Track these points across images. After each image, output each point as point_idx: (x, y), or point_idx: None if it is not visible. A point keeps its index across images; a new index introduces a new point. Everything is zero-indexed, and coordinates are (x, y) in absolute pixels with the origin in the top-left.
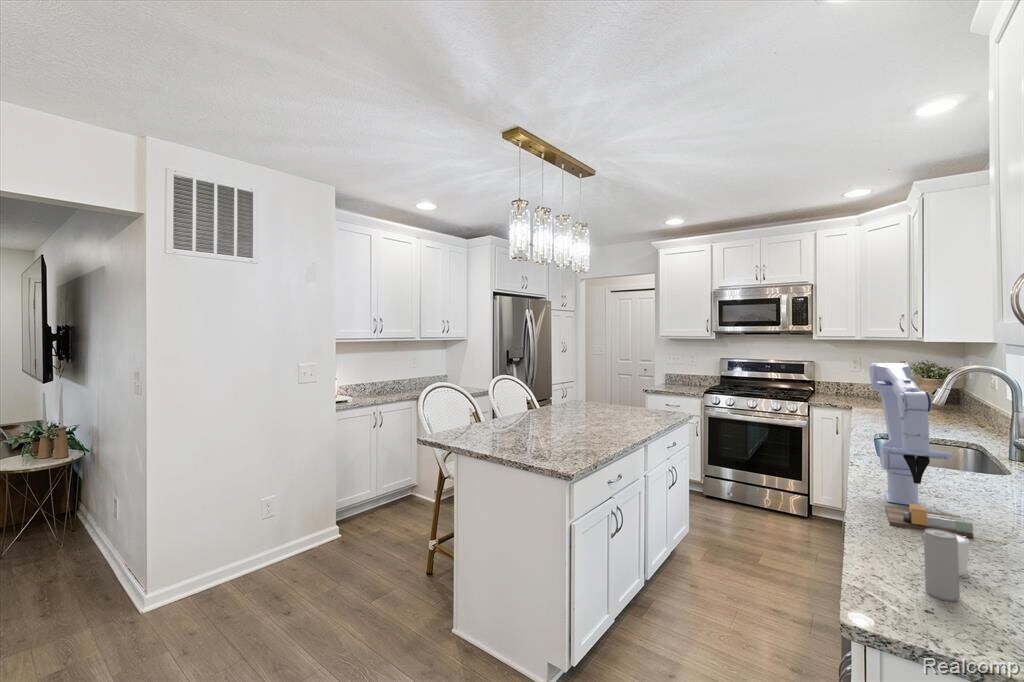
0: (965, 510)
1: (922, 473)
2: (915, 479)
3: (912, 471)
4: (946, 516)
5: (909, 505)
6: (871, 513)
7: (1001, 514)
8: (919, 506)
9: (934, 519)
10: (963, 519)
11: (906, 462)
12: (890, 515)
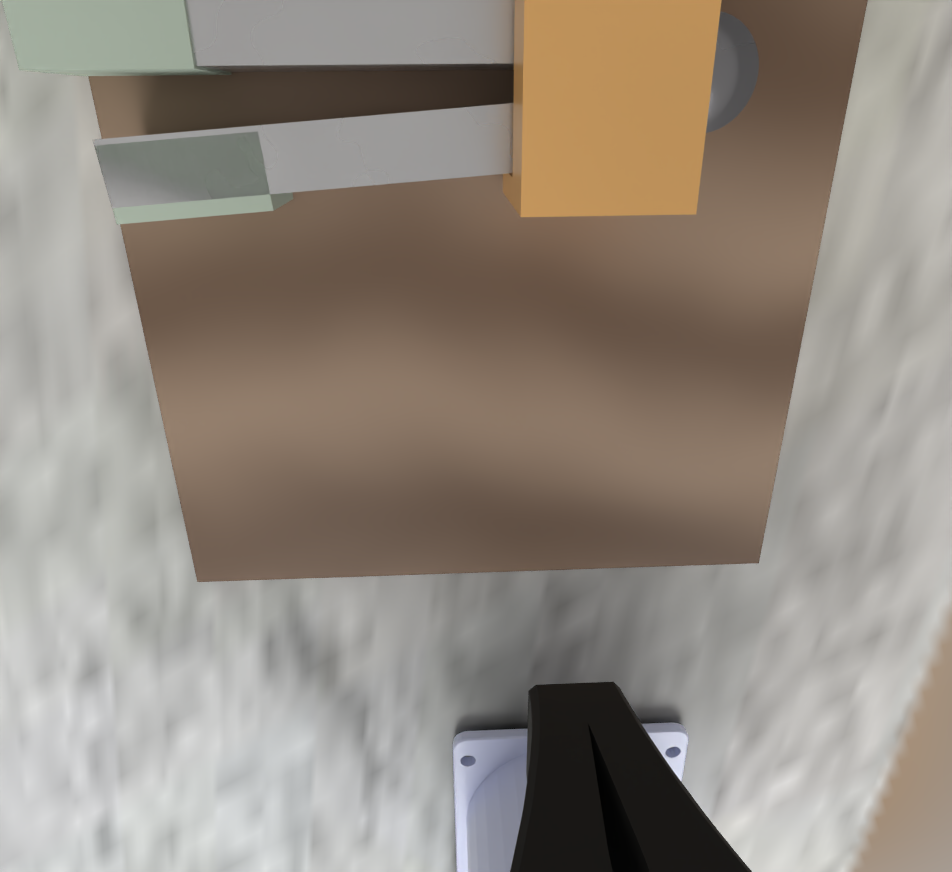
0: (180, 804)
1: (529, 855)
2: (620, 728)
3: (729, 869)
4: (283, 184)
5: (694, 175)
6: (914, 324)
7: None
8: (587, 123)
9: None
10: (108, 151)
11: None
12: (801, 225)
